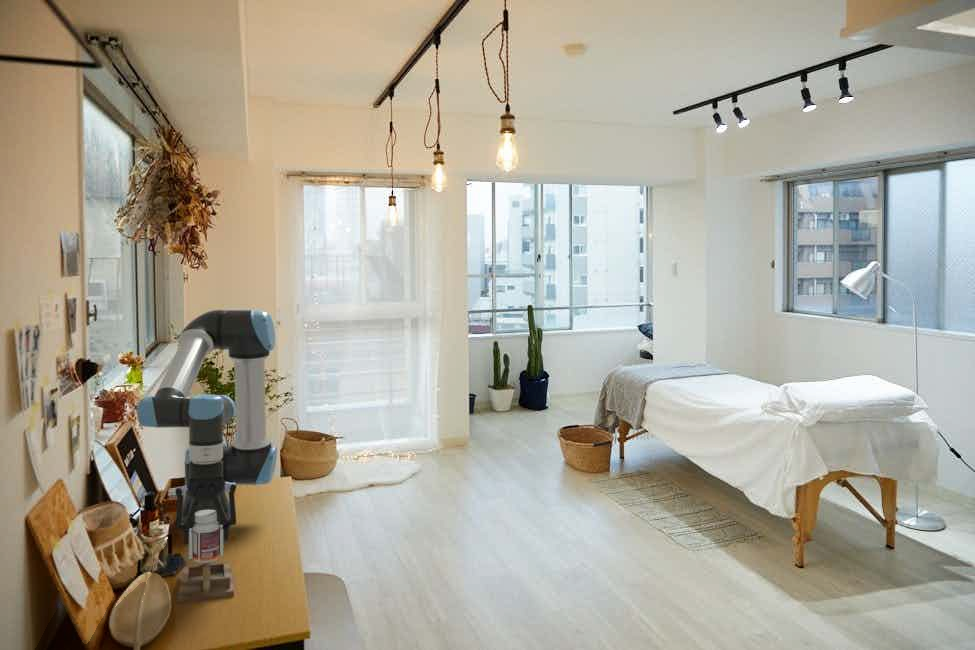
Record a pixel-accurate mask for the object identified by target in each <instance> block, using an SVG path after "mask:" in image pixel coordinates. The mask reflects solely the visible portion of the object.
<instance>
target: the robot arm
mask: <svg viewBox="0 0 975 650" xmlns="http://www.w3.org/2000/svg"><path fill="white" fill-rule="evenodd" d="M177 343H178V348H177V349H176V352H175V354H174V356H173V358H172V360H171V362H170V364H169V365H168V366H169V367H168V368H167V370H166V372H165V374H164V376H163V378H162V380H161V383H160V385H159V386H158V389H157V390H156V393H155V394H154V396H152V395H149V396H144V397H141V399H140V400H139V402H138V405H137V409H136V416H137V417H136V418H137V422H138V424H139V425H140V426H141V427H143V428H145V427H147V428H156V429H158V428H159V429H161V428H188V433H189V434H188V435H189V439H188V440H189V441H188V444H189V445H188V448H187V449H186V450H185V452H184V453H185V454H184V462H183V463H184V485H182V486H180V485H178V486H176V487H175V492H174V493H175V495H176V498H177V503H176V504H177V505H176V517H175V530H176V531H182V532H183V544H184V545H187V546H188V560H193V544H192V528H193V525H194V524H195V523H196V522H194V514H195V513H196V512H198V511H201V510H215V511H217V520H216V521H217V522H219V524H221V525H220V557H221V556H222V557H223V556H224V542H225V541H226V542H227V541H228V540H229V528H230V527H231V526H234V525H236V524H237V515H236V514H237V513H236V501H235V493H236V490H237V486H257V485H268V484H269V483H270V482H271V481H272V480H273V478H274V473H275V470H276V469H275V468H276V464H277V458H278V447H277V446H276V445H275V446H274V445H272V439H271V438H270V437H269V436H268V435H267V431H266V429H267V422H266V421H267V420H266V419H267V418H266V379H265V378H266V376H265V375H266V374H265V371H266V370H265V361H266V359H268V358H269V356H270V352H271V351H273V350H274V349H275V346H276V333H275V326H274V323H273V319H272V316H271V314H269V313H268V312H267V311H263V310H262V311H261V310H255V309H253V310H250V309H249V310H248V309H243V310H241V309H240V310H239V309H236V310H235V309H234V310H233V309H231V310H230V309H229V310H228V309H227V310H226V309H215V310H211V311H207V312H204V313H203V314H201V315H198V317H196V318H193V320H191V321H190V322H189V323H188V324H187V325H186V326H185V327H184V328H183V330H182V331H181V333H180V335H179V337H178V342H177ZM213 350H214V351H215V350H227V351H228V358H230V360H232V361H233V362H234V366H233V367H234V392H235V393H234V396H235V397H234V399H235V400H233V399H232V398H231V397H229V396H227V395H225V394H210V393H209V394H198V395H194V396H189V395H190V393H191V391H192V388H193V386H194V384H195V382H196V380H197V377H198V375H199V372H200V370H201V368H202V366H203V364H204V362H205V359H206V357H207V356H209V355H210V354H211V353H212V352H213ZM234 401H235V402H234ZM234 416H235V427H236V430H235V431H236V432H235V434H236V436H235V438H234V439H233V440H232V441H231V446H228V445H227V443H226V441H225V440H224V427H225V426H226V425H228V424H229V423H230V422H231V421H232V420H233V418H234ZM227 492H228V495H227ZM191 527H192V528H191Z"/></svg>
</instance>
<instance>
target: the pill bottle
mask: <svg viewBox="0 0 975 650" xmlns="http://www.w3.org/2000/svg"><path fill="white" fill-rule="evenodd" d="M216 520H217V511H215V510H201V511H198V512H196V513H195V514H194V522H196V523H195V524H194V525H193V526H192V544H193V558H192V560H193V562H195V563H197V564H203V563H209V562H210V563H212V562H215V561H217V560H218V559H220V557H221V556H220V526H221V523H219V522H217V521H216Z"/></svg>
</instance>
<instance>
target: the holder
mask: <svg viewBox="0 0 975 650" xmlns="http://www.w3.org/2000/svg"><path fill="white" fill-rule="evenodd" d="M229 562H230V561H222V562H214V563H212V562H209V563H202V564H198V565H197V564H196V565H187V566H186V565H185V566H183V568H182V573H180V575H179V585H178V600H177V601H178V602H177V603H178V604H181V603H190V602H198V601H204V600H205V601H206V600H212V599H213V600H214V599H221V598H229V597H230V598H231V597H235V589H234V588H235V587H234V580H233V579H234V578H233V569H232V567H230V565H229V564H230V563H229Z"/></svg>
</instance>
